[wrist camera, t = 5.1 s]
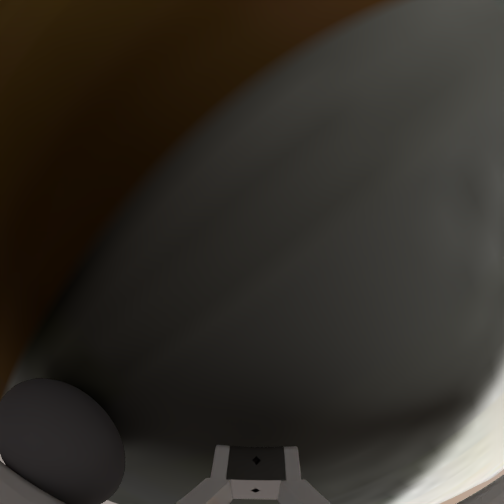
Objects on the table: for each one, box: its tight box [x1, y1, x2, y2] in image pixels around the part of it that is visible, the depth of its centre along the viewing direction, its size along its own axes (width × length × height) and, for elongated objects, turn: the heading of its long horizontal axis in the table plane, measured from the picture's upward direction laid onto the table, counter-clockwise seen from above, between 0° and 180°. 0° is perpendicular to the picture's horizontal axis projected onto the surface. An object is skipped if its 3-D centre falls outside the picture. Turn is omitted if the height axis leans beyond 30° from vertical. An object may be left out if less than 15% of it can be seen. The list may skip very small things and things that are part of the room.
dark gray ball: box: [0, 378, 125, 504], centre depth 7 cm, size 6×6×6 cm
